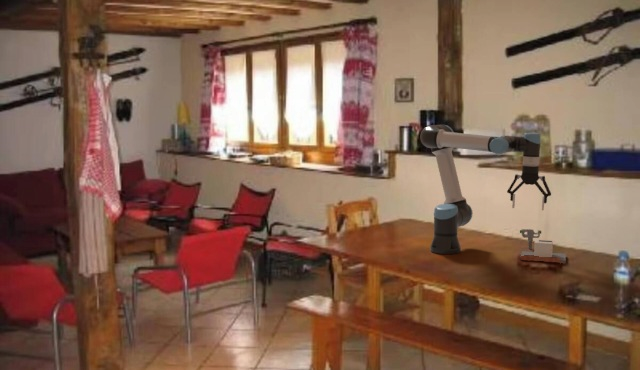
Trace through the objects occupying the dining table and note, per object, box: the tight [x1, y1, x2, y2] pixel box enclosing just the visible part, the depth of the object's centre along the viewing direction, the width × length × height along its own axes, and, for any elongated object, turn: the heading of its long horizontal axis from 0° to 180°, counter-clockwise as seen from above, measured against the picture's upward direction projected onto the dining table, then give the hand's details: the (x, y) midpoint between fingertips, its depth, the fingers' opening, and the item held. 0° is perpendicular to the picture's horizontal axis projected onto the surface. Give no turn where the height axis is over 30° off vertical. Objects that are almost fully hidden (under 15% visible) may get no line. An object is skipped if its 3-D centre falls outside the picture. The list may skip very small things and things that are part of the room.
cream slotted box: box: [533, 238, 554, 257], centre depth 306 cm, size 8×8×7 cm
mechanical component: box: [519, 228, 542, 250], centre depth 326 cm, size 3×10×10 cm, turn 78°
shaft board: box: [520, 250, 567, 265], centre depth 306 cm, size 20×14×6 cm
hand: (527, 208), depth 310 cm, fingers open, 13 cm apart
